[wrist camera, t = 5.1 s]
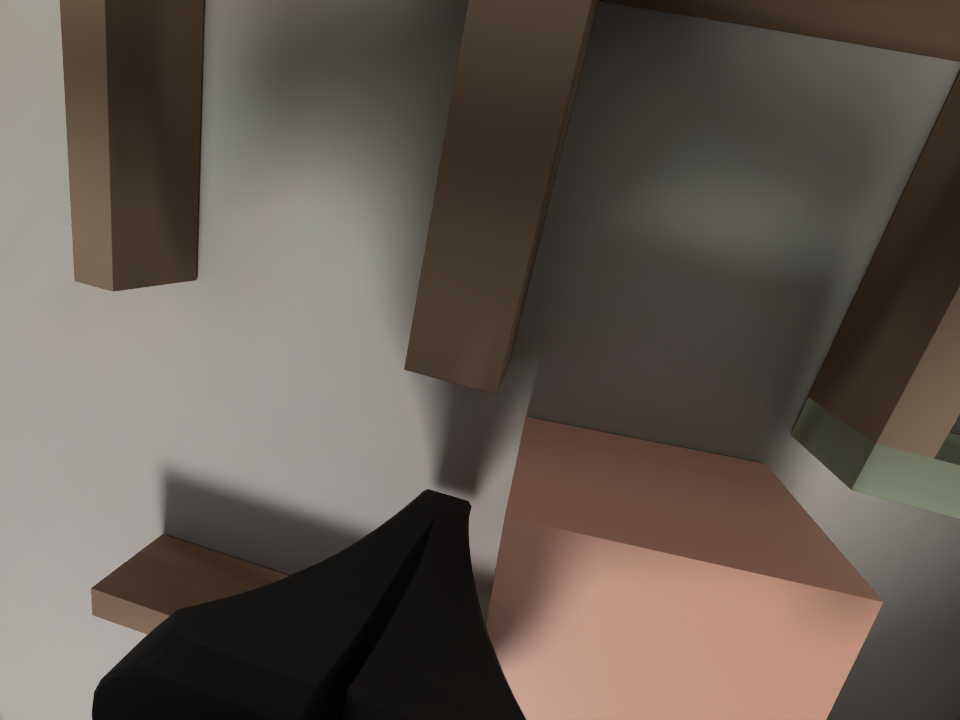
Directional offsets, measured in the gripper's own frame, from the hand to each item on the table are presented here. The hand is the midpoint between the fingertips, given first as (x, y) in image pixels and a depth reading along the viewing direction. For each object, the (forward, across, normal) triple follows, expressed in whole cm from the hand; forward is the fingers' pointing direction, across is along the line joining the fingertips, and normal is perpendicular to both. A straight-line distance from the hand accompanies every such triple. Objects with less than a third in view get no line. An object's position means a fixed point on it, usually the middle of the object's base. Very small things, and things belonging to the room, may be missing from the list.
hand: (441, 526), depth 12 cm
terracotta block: (+1, -5, 0) cm, 5 cm away
